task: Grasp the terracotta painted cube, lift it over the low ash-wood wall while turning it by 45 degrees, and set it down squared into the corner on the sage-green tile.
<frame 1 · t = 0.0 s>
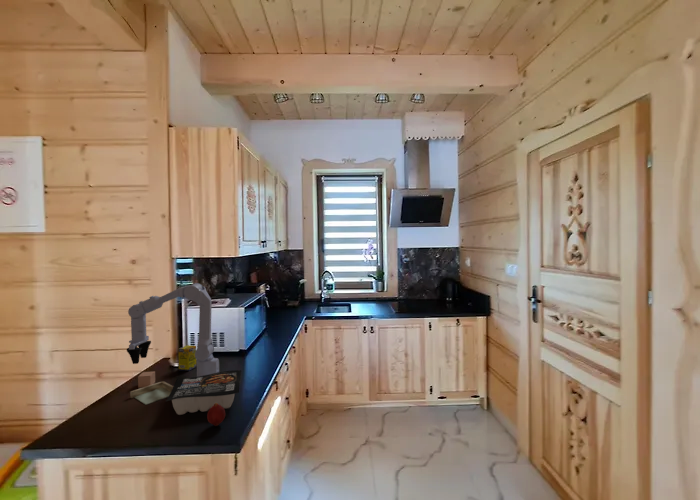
hand: (139, 360, 154), 10 cm above the worktop, tool pointing down, fingers open, 7 cm apart
supplement box: (187, 369, 171), on the worktop
onion: (216, 426, 117), on the worktop
food packaging: (207, 401, 136), on the worktop
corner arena: (155, 395, 141), on the worktop
terracotta cube: (147, 384, 152), on the worktop
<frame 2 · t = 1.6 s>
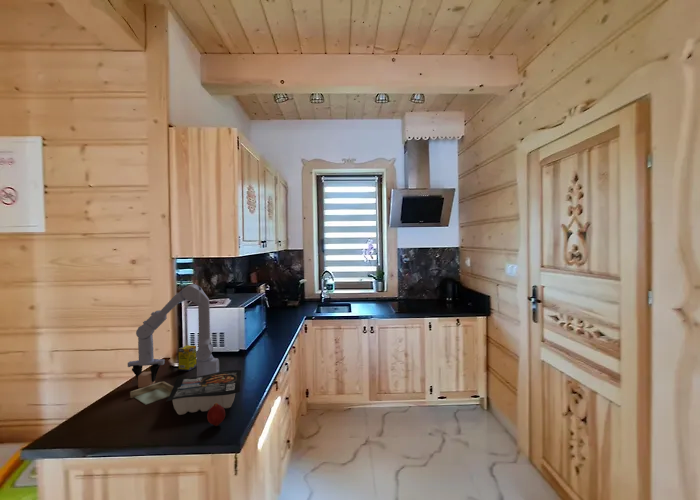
hand: (146, 381, 152), 1 cm above the worktop, tool pointing down, fingers closed on terracotta cube, 5 cm apart
terracotta cube: (146, 384, 152), on the worktop, touching gripper
everything else where it was.
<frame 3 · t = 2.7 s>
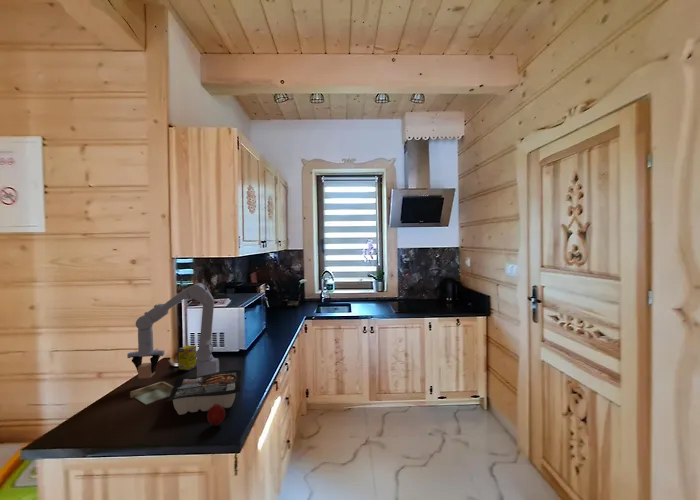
hand: (146, 372, 152), 5 cm above the worktop, tool pointing down, fingers closed on terracotta cube, 5 cm apart
terracotta cube: (146, 375, 152), point 4 cm above the worktop, touching gripper
everything else where it was.
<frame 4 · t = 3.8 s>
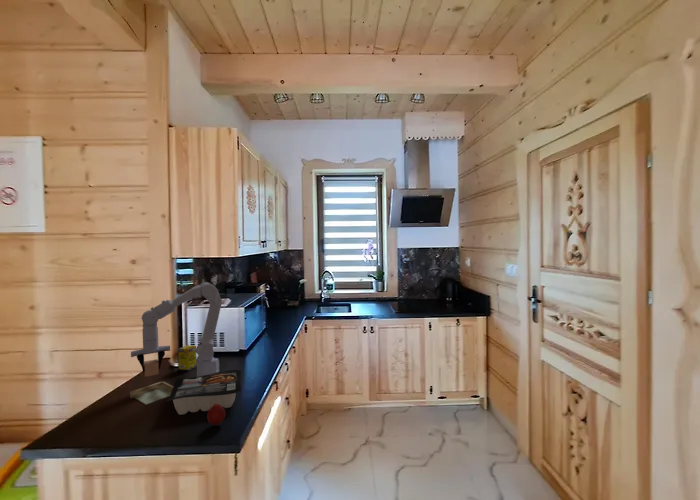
hand: (151, 370, 147), 8 cm above the worktop, tool pointing down, fingers closed on terracotta cube, 5 cm apart
terracotta cube: (151, 373, 147), point 7 cm above the worktop, touching gripper
everything else where it was.
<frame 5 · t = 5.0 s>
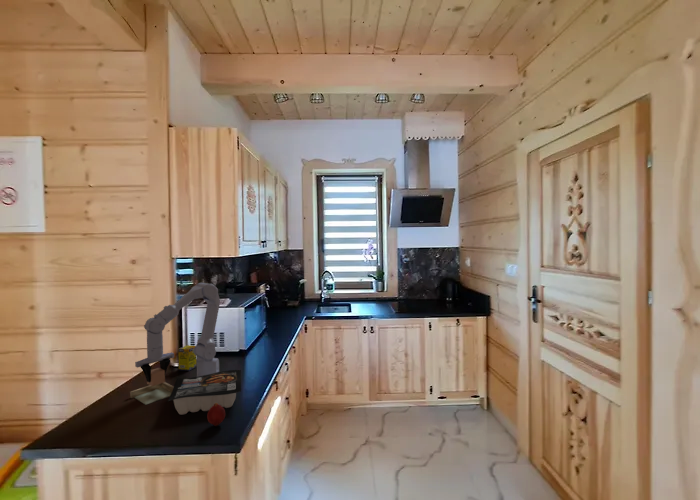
hand: (155, 379, 142), 6 cm above the worktop, tool pointing down, fingers closed on terracotta cube, 5 cm apart
terracotta cube: (155, 382, 143), point 5 cm above the worktop, touching gripper
everything else where it was.
when the fingers open (3 cm above the worktop, at t = 6.1 s): terracotta cube drops 2 cm, resting on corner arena.
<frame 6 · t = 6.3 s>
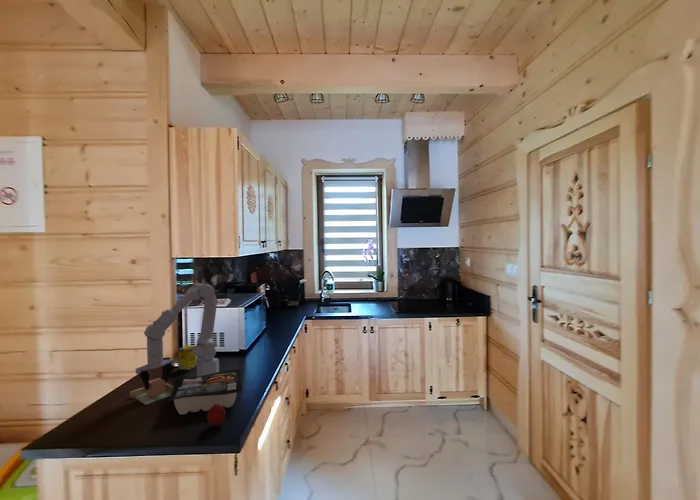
hand: (156, 385, 143), 3 cm above the worktop, tool pointing down, fingers open, 7 cm apart
terracotta cube: (156, 392, 143), resting on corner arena
everything else where it was.
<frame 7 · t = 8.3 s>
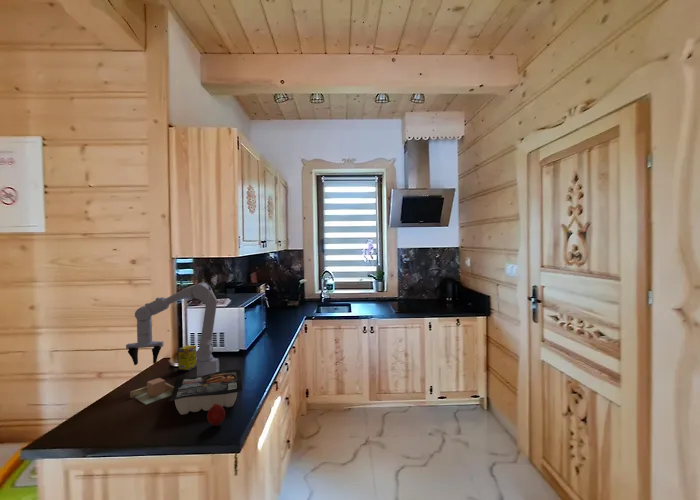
hand: (145, 363, 152), 9 cm above the worktop, tool pointing down, fingers open, 7 cm apart
nothing on the worktop moved.
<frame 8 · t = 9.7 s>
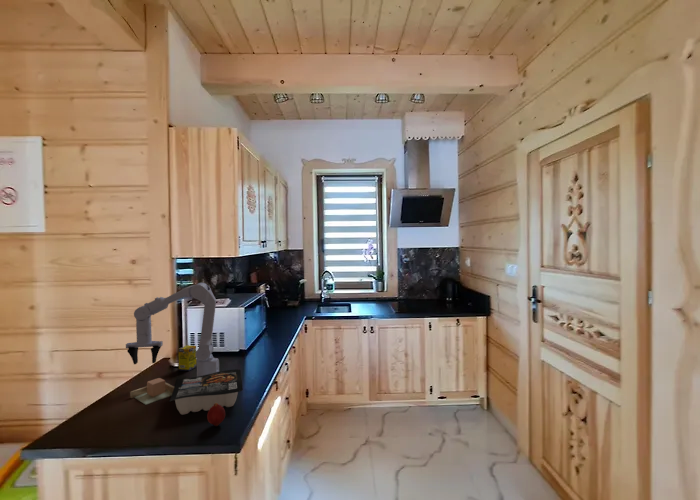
hand: (144, 363, 153), 9 cm above the worktop, tool pointing down, fingers open, 7 cm apart
nothing on the worktop moved.
at the end: terracotta cube 0.1 cm from the target spot on the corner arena, point 0.3 cm above the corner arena's base; terracotta cube tilted 0°; the gripper is holding nothing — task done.
